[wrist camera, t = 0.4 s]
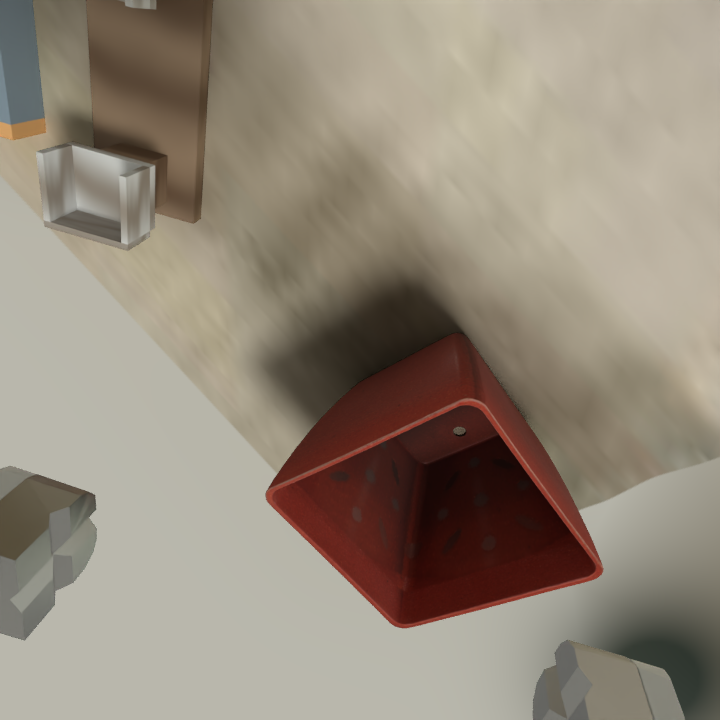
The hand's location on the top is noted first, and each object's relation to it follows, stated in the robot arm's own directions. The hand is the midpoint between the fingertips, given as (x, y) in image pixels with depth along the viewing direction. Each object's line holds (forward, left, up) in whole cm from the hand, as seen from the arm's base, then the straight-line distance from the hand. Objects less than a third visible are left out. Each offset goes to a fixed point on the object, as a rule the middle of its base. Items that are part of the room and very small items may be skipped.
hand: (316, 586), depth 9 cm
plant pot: (+23, +7, -39) cm, 46 cm away
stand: (0, -24, -39) cm, 45 cm away
